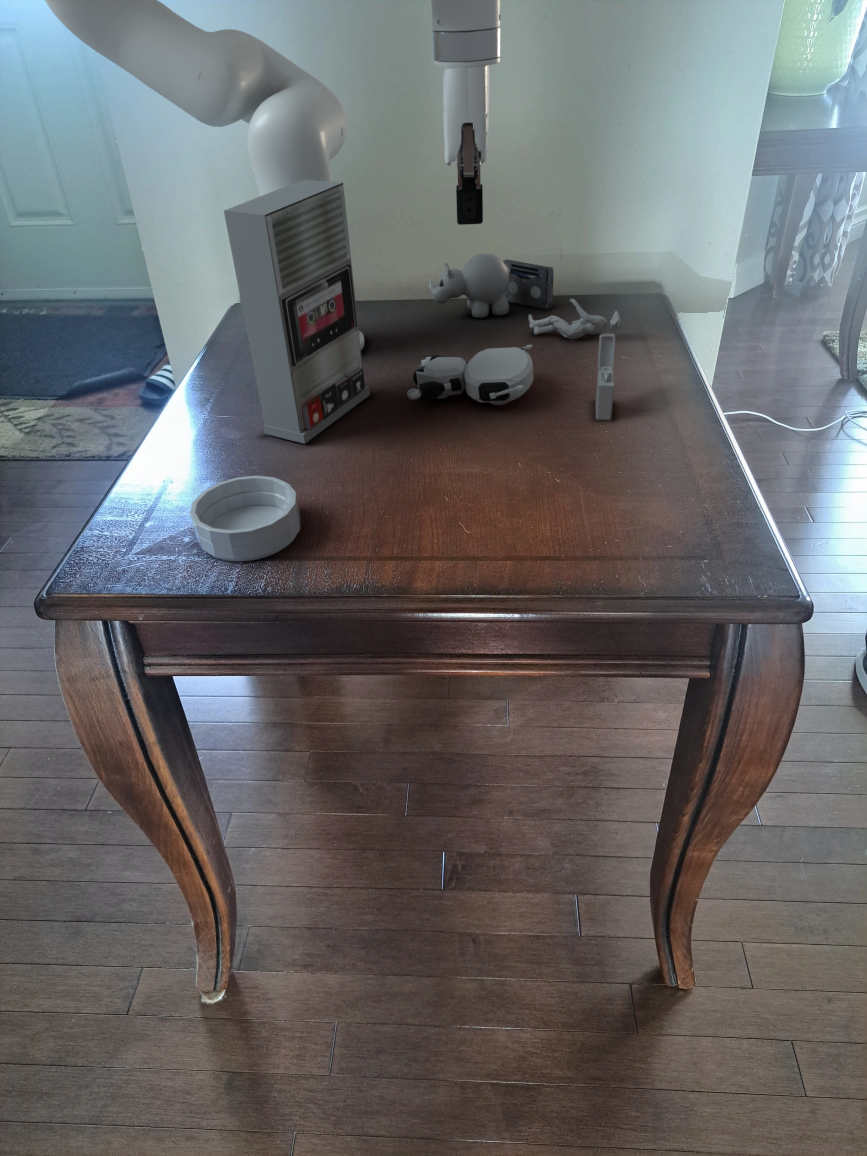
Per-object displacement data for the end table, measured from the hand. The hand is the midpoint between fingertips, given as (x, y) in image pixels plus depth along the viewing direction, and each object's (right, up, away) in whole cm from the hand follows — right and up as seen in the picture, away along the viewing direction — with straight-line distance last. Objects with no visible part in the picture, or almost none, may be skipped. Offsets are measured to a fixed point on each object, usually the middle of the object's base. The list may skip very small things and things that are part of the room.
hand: (470, 220), depth 104 cm
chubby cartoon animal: (+1, -5, +22) cm, 22 cm away
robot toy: (0, -22, 0) cm, 22 cm away
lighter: (+16, -24, -4) cm, 29 cm away
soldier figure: (+15, -11, +13) cm, 23 cm away
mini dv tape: (+10, -3, +24) cm, 26 cm away
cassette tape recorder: (-18, -25, -3) cm, 31 cm away
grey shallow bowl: (-23, -40, -22) cm, 51 cm away
